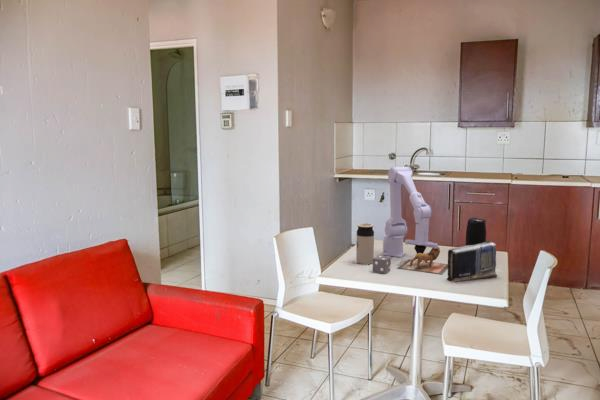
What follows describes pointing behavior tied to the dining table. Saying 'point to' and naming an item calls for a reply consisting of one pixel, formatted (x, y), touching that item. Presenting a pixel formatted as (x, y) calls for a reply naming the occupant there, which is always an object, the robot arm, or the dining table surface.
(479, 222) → the portable speaker
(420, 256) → the lion figurine
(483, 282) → the dining table surface
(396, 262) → the dining table surface
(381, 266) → the die
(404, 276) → the dining table surface
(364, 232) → the travel mug
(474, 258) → the radio
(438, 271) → the board
